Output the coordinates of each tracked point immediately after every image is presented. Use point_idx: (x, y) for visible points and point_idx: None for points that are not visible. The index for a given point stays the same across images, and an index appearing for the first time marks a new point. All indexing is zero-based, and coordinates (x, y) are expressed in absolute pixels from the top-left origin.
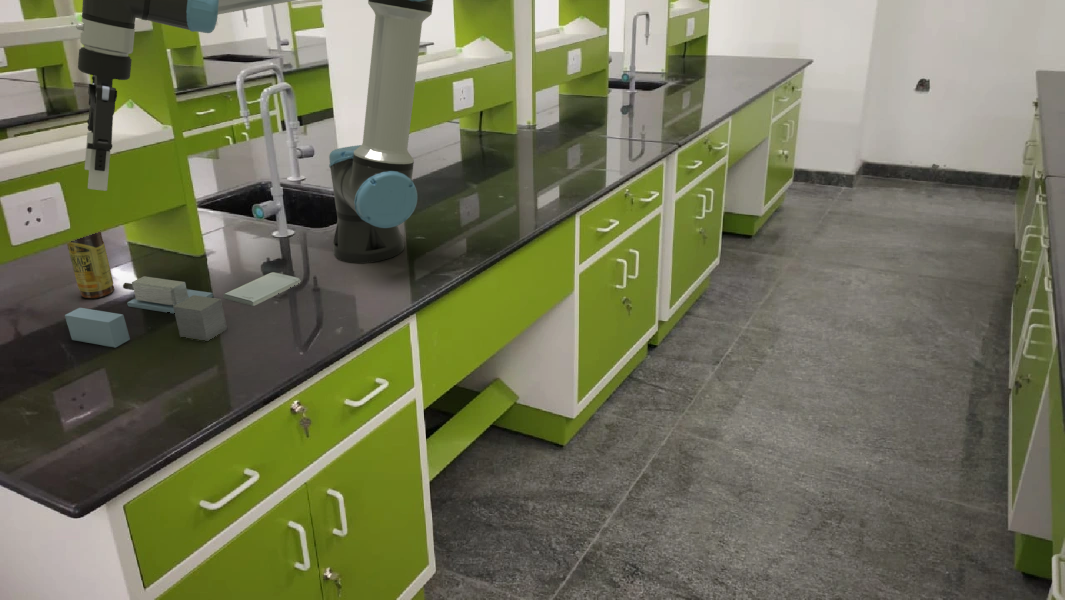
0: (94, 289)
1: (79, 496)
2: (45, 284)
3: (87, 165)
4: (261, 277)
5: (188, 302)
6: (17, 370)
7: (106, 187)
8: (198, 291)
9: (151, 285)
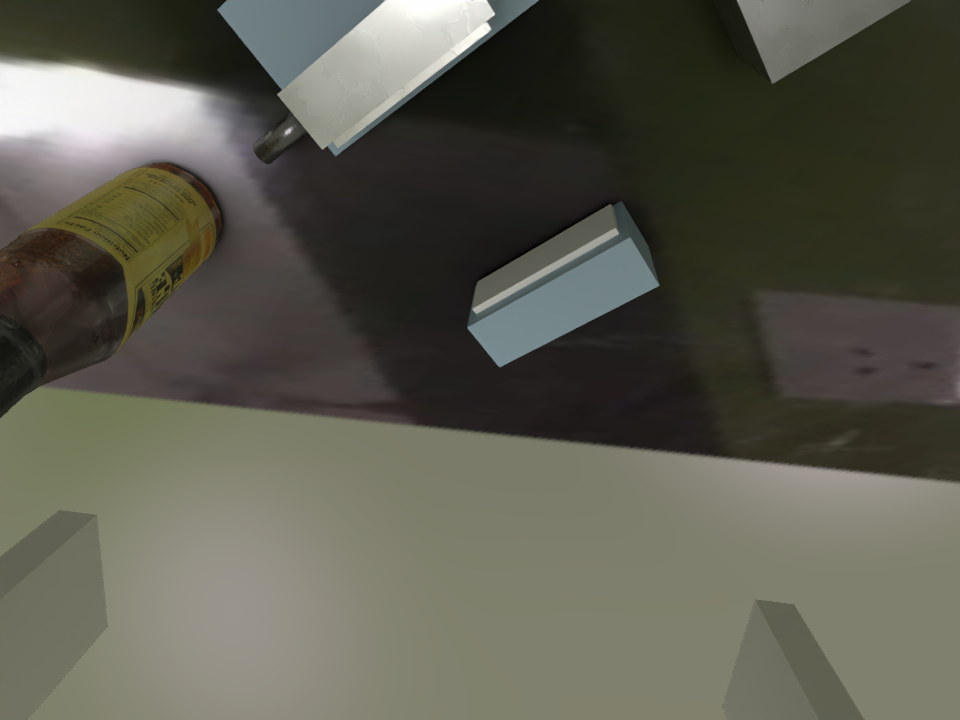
0: (212, 235)
1: None
2: None
3: (80, 639)
4: None
5: (788, 11)
6: (598, 431)
7: (805, 629)
8: None
9: (399, 89)
